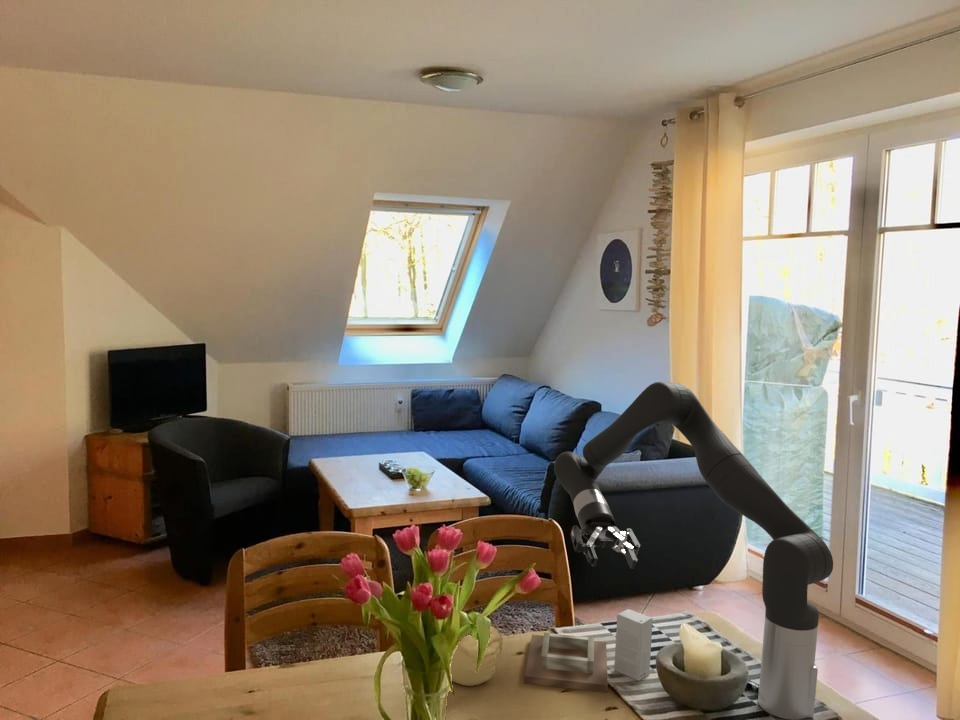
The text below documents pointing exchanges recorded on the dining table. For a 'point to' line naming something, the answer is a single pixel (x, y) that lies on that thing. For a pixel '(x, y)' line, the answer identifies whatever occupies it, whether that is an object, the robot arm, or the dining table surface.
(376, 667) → the dining table surface
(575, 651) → the walnut stand
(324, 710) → the dining table surface
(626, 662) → the skincare box
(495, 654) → the sculpture
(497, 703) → the dining table surface
